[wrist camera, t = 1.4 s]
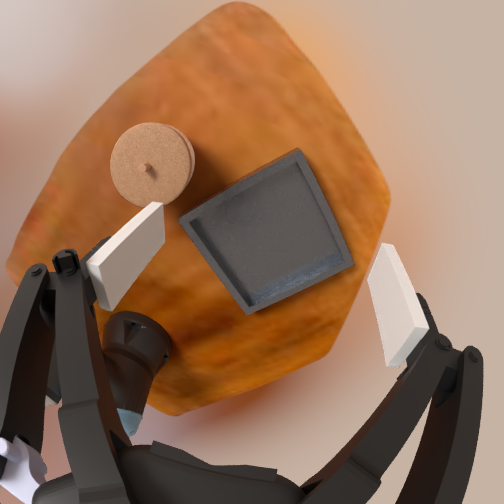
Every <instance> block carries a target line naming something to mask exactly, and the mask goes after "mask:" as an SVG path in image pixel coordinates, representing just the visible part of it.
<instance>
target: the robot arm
mask: <svg viewBox="0 0 504 504" xmlns="http://www.w3.org/2000/svg"><path fill="white" fill-rule="evenodd" d="M164 243H165V230H164V210H163V203H159V202H151V203H150V204H149V205H148V206H146V207H145V208H144V209H143V210H142V211H141V212H139V213H138V214H137V215H136V216H135V217H134V218H132V219H131V220H130V221H129V222H128V223H127V224H126V225H125V226H123V227H122V228H121V229H120V230H119V231H118V232H117V233H116V234H115V235H114V236H109V237H107V238H105V239H103V240H101V241H100V242H99V243H98V244H97V245H96V247H94V248H93V249H92V250H91V251H90V252H89V253H88V254H87V255H85V256H84V257H83V258H82V259H81V260H80V261H79V259H78V255H77V252H76V251H75V250H74V249H64V250H62V251H59V252H58V253H56V254H55V255H54V256H53V259H52V261H53V264H54V267H55V270H56V272H48V269H47V267H46V265H45V264H42V263H39V264H35V265H33V266H31V267H30V268H29V269H28V270H27V272H26V273H25V276H24V278H23V280H22V282H21V284H20V286H19V288H18V290H17V293H16V295H15V297H14V300H13V302H12V304H11V307H10V310H9V312H8V314H7V317H6V320H5V322H4V325H3V328H2V331H1V333H0V490H1V488H2V486H3V487H4V488H5V489H7V490H8V491H9V492H10V493H12V494H13V495H14V496H16V497H17V498H18V499H20V500H21V501H22V502H24V503H25V504H366V503H367V501H368V500H369V499H370V498H371V497H372V496H373V494H374V493H375V492H376V491H377V489H378V488H379V486H380V484H381V480H380V478H381V476H382V475H383V473H384V472H385V471H386V470H387V468H388V467H389V465H390V464H391V462H392V461H393V460H394V459H395V457H396V456H397V454H398V453H399V451H400V450H401V448H402V447H403V445H404V444H405V442H406V441H407V439H408V438H409V436H410V435H411V433H412V431H413V430H414V428H415V426H416V425H417V423H418V421H419V419H420V418H421V416H422V414H423V412H424V411H425V409H426V407H427V405H428V403H429V401H430V399H431V397H432V400H431V404H430V409H429V413H428V416H427V420H426V424H425V427H424V431H423V435H422V438H421V441H420V444H419V447H418V450H417V453H416V456H415V459H414V461H413V464H412V466H411V469H410V472H409V474H408V477H407V479H406V482H405V484H404V486H403V488H402V491H401V493H400V495H399V497H398V499H397V501H396V503H395V504H462V501H463V498H464V495H465V492H466V489H467V485H468V482H469V478H470V474H471V470H472V466H473V462H474V457H475V452H476V447H477V441H478V435H479V428H480V420H481V410H482V397H483V357H482V355H481V353H480V351H479V350H478V349H477V348H475V347H473V346H467V347H466V348H465V349H464V351H463V352H461V351H459V350H456V349H453V348H452V344H451V342H450V340H449V339H448V338H447V337H446V336H444V335H443V334H439V332H438V329H437V327H436V324H435V322H434V319H433V316H432V315H431V312H430V310H429V307H428V304H427V302H426V300H425V299H424V298H423V296H422V295H421V294H420V293H415V291H414V288H413V286H412V284H411V282H410V279H409V277H408V275H407V273H406V271H405V269H404V266H403V264H402V262H401V260H400V258H399V256H398V254H397V252H396V250H395V248H394V246H393V245H391V244H386V243H382V244H381V247H380V249H379V252H378V254H377V257H376V259H375V262H374V264H373V267H372V269H371V272H370V274H369V276H368V279H367V281H368V285H369V289H370V292H371V296H372V300H373V305H374V309H375V313H376V317H377V322H378V326H379V331H380V336H381V341H382V346H383V351H384V356H385V362H386V366H387V367H400V366H401V365H402V364H403V363H404V361H405V360H406V362H407V368H406V369H405V370H404V371H403V372H402V373H401V374H400V375H399V377H398V378H397V382H396V383H395V384H394V386H393V387H392V389H391V390H390V392H389V393H388V394H387V396H386V397H385V398H384V400H383V401H382V402H381V404H380V405H379V406H378V407H377V409H376V410H375V411H374V413H373V414H372V415H371V416H370V418H369V419H368V420H367V421H366V422H365V424H364V425H363V426H362V427H361V428H360V429H359V431H358V432H357V433H356V434H355V435H354V436H353V437H352V439H351V440H350V441H349V442H348V443H347V444H346V445H345V446H344V447H343V448H342V449H341V450H340V451H339V452H338V454H336V456H335V457H334V458H333V459H332V460H331V461H330V462H328V463H327V464H326V465H325V467H323V468H322V469H321V470H320V471H319V472H318V473H317V474H315V475H314V476H312V477H311V478H310V479H308V480H307V481H306V482H305V483H304V484H302V485H301V486H300V487H299V486H297V485H296V484H295V483H294V482H292V481H290V480H289V479H287V478H285V477H283V476H281V475H278V474H277V469H272V468H264V467H257V466H250V465H228V466H226V465H225V466H215V465H210V464H208V463H206V462H204V461H202V460H200V459H198V458H196V457H194V456H193V455H191V454H189V453H187V452H185V451H183V450H181V449H178V448H175V447H172V446H169V445H165V444H162V443H160V442H157V441H153V443H152V445H134V446H132V444H131V441H130V440H129V437H130V436H133V435H134V434H135V433H136V431H137V429H138V427H139V424H140V422H141V420H142V415H143V412H144V408H145V404H146V401H147V398H148V394H149V391H150V388H151V385H152V381H153V378H154V376H155V375H156V374H157V373H158V372H159V371H160V370H161V368H162V367H163V366H164V365H165V364H166V363H167V361H168V359H169V357H170V353H171V350H172V344H171V340H170V338H169V336H168V334H167V333H166V332H165V330H164V329H163V328H162V327H161V326H160V325H159V324H157V323H156V322H155V321H153V320H152V319H150V318H148V317H146V316H144V315H142V314H139V313H135V312H129V311H123V312H118V313H115V314H114V315H112V316H111V317H110V318H109V320H108V322H107V323H106V325H105V328H104V332H103V339H102V347H101V344H100V339H99V333H98V327H97V321H96V315H95V309H94V306H93V303H94V302H95V301H96V299H97V301H98V304H99V307H100V308H102V309H105V310H108V311H111V312H112V311H113V310H114V308H115V307H116V305H117V304H118V303H119V301H120V300H121V299H122V297H123V296H124V294H125V293H126V292H127V290H128V289H129V288H130V286H131V285H132V284H133V282H134V281H135V280H136V278H137V277H138V276H139V275H140V273H141V272H142V271H143V269H144V268H145V267H146V266H147V264H148V263H149V262H150V260H151V259H152V258H153V257H154V255H155V254H156V253H157V252H158V250H159V249H160V248H161V247H162V245H163V244H164ZM61 398H62V407H61V408H59V410H58V418H59V423H60V428H61V433H62V437H63V441H64V445H65V450H66V453H67V457H68V461H69V464H70V468H71V471H72V472H71V473H69V474H66V475H64V476H61V477H58V478H56V479H53V480H50V481H48V482H46V480H45V477H44V475H45V474H46V473H47V466H46V464H45V463H44V462H43V459H42V457H41V455H40V454H41V448H42V442H43V431H44V411H45V407H46V406H53V405H57V404H58V403H59V401H60V400H61Z"/></svg>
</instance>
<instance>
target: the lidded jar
mask: <svg viewBox="0 0 504 504" xmlns="http://www.w3.org/2000/svg"><path fill="white" fill-rule="evenodd" d="M194 167H195V155H194V150H193V147H192V145H191V143H190V141H189V140H188V138H187V137H186V136H185V135H184V134H183V133H182V132H181V131H180V130H178V129H176V128H175V127H172V126H170V125H167V124H162V123H156V122H147V123H142V124H139V125H136V126H134V127H132V128H130V129H129V130H127V131H126V132H125V133H124V134H123V135H122V136H121V137H120V138H119V140H118V141H117V143H116V145H115V147H114V149H113V152H112V155H111V162H110V169H111V176H112V179H113V182H114V184H115V186H116V188H117V190H118V191H119V193H120V194H121V195H122V196H123V197H124V198H125V199H126V200H127V201H129V202H131V203H132V204H134V205H137V206H139V207H143V208H145V207H146V206H148V205H149V204H150V203H151V202H159V203H163V206H164V205H167V204H169V203H170V202H172V201H174V200H175V199H176V198H177V197H178V196H179V195H180V194H181V193H182V192H183V190H184V189H185V187H186V186H187V184H188V183H189V181H190V179H191V177H192V174H193V171H194Z"/></svg>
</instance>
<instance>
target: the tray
mask: <svg viewBox="0 0 504 504" xmlns="http://www.w3.org/2000/svg"><path fill="white" fill-rule="evenodd" d="M177 220H178V221H179V223H180V224H181V226H182V227H183V229H184V230H185V232H186V233H187V234H188V236H189V237H190V239H191V240H192V241H193V243H194V244H195V246H196V247H197V249H198V250H199V251H200V253H201V254H202V256H203V257H204V258H205V260H206V261H207V262H208V264H209V265H210V267H211V268H212V269H213V271H214V272H215V273H216V275H217V276H218V278H219V279H220V280H221V282H222V283H223V284H224V286H225V287H226V288H227V290H228V291H229V292H230V294H231V295H232V296H233V298H234V299H235V300H236V302H237V303H238V304H239V306H240V307H241V308H242V310H243V311H244V312H245V314H246V315H249V314H251V313H253V312H256V311H258V310H260V309H262V308H265V307H267V306H269V305H271V304H274V303H276V302H278V301H280V300H282V299H284V298H287V297H289V296H291V295H293V294H295V293H297V292H300V291H302V290H304V289H306V288H308V287H310V286H312V285H314V284H316V283H318V282H320V281H322V280H324V279H327V278H329V277H331V276H333V275H335V274H337V273H339V272H341V271H343V270H345V269H347V268H349V267H350V266H352V265H354V262H353V259H352V257H351V255H350V252H349V250H348V247H347V245H346V243H345V240H344V238H343V236H342V233H341V231H340V229H339V227H338V224H337V222H336V220H335V218H334V216H333V213H332V211H331V209H330V207H329V205H328V203H327V201H326V198H325V196H324V194H323V192H322V190H321V188H320V186H319V184H318V182H317V180H316V178H315V176H314V174H313V172H312V170H311V168H310V166H309V164H308V162H307V161H306V159H305V157H304V155H303V153H302V151H301V150H300V149H299V148H296V149H294V150H292V151H290V152H288V153H286V154H284V155H282V156H280V157H278V158H277V159H275V160H273V161H271V162H269V163H267V164H265V165H264V166H262V167H260V168H258V169H256V170H254V171H253V172H251V173H249V174H247V175H245V176H244V177H242V178H240V179H238V180H237V181H235V182H233V183H231V184H230V185H228V186H226V187H224V188H223V189H221V190H219V191H218V192H216V193H214V194H213V195H211V196H209V197H208V198H206V199H204V200H203V201H201V202H199V203H198V204H196V205H194V206H193V207H191V208H190V209H188V210H186V211H185V212H183V213H182V214H181V215H180V217H179V218H178V219H177Z"/></svg>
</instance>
